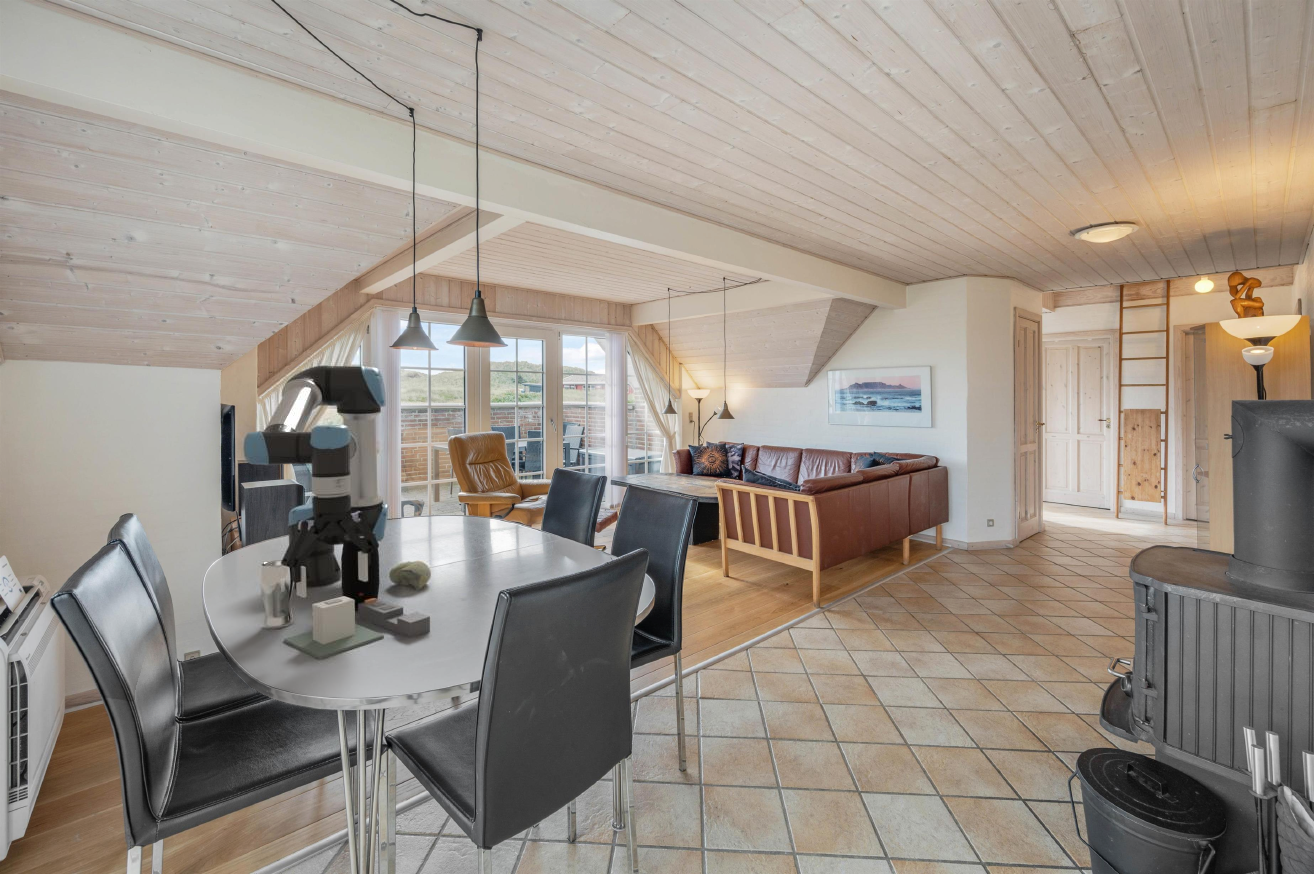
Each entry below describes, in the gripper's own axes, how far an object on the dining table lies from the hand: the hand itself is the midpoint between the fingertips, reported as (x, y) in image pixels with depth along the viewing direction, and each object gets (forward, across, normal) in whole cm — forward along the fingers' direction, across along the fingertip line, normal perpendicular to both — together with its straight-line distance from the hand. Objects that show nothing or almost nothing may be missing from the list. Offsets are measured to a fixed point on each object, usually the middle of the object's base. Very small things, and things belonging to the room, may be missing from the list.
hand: (333, 587), depth 131 cm
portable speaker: (+12, +15, +15) cm, 25 cm away
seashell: (+13, +33, +21) cm, 42 cm away
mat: (+12, 0, -1) cm, 12 cm away
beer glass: (+12, -3, +19) cm, 23 cm away
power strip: (+12, +13, -3) cm, 17 cm away
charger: (+11, 0, -1) cm, 11 cm away
